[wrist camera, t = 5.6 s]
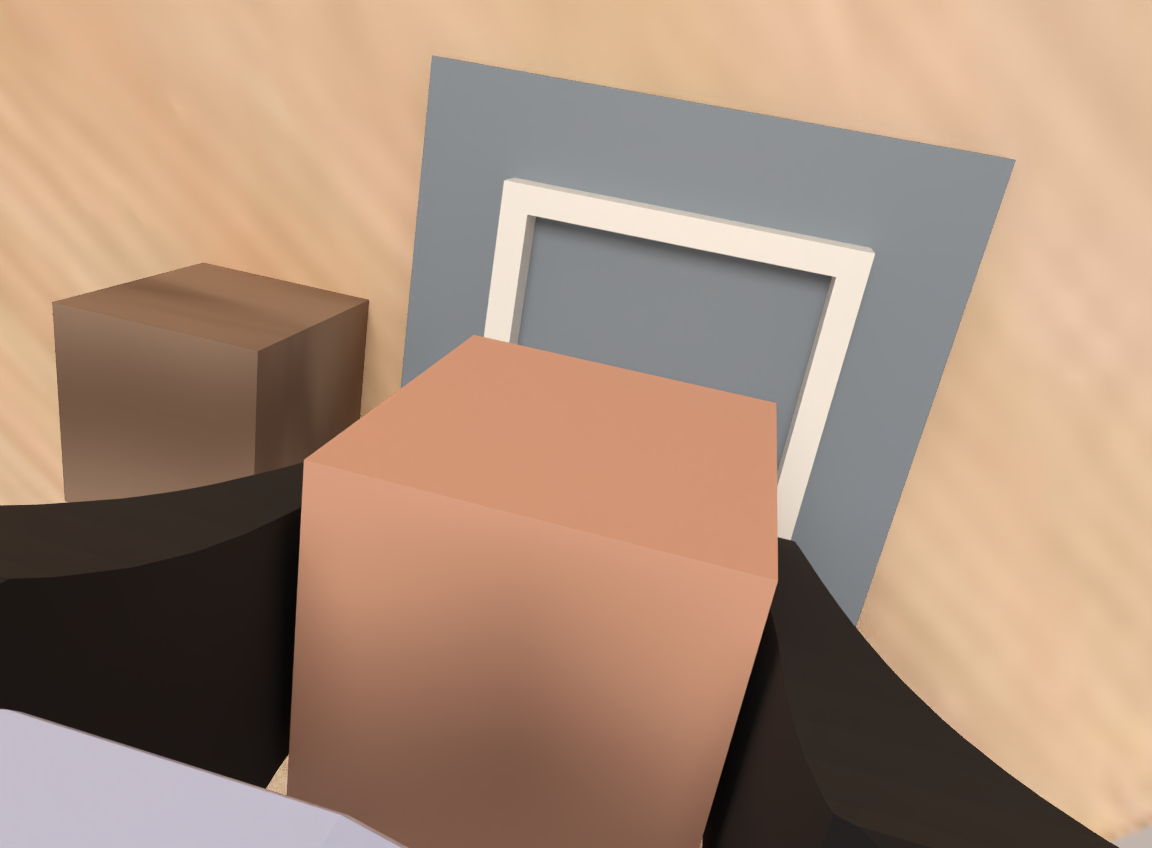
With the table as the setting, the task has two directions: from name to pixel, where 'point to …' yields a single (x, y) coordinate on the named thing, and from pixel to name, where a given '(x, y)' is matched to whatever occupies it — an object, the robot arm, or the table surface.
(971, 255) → the board
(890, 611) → the table surface
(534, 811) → the terracotta block
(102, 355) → the walnut block
